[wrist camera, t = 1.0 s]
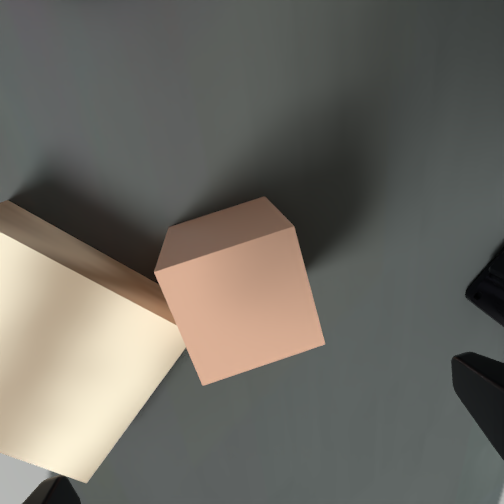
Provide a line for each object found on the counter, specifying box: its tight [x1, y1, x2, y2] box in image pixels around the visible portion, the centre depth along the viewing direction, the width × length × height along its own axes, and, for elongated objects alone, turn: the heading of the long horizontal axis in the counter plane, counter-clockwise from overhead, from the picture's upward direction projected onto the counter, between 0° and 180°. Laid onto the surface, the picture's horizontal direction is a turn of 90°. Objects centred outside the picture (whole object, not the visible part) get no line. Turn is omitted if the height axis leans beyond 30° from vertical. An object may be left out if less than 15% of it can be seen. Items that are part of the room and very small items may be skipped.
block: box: [154, 196, 325, 386], centre depth 16 cm, size 5×5×6 cm
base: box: [0, 200, 186, 483], centre depth 17 cm, size 10×10×3 cm
